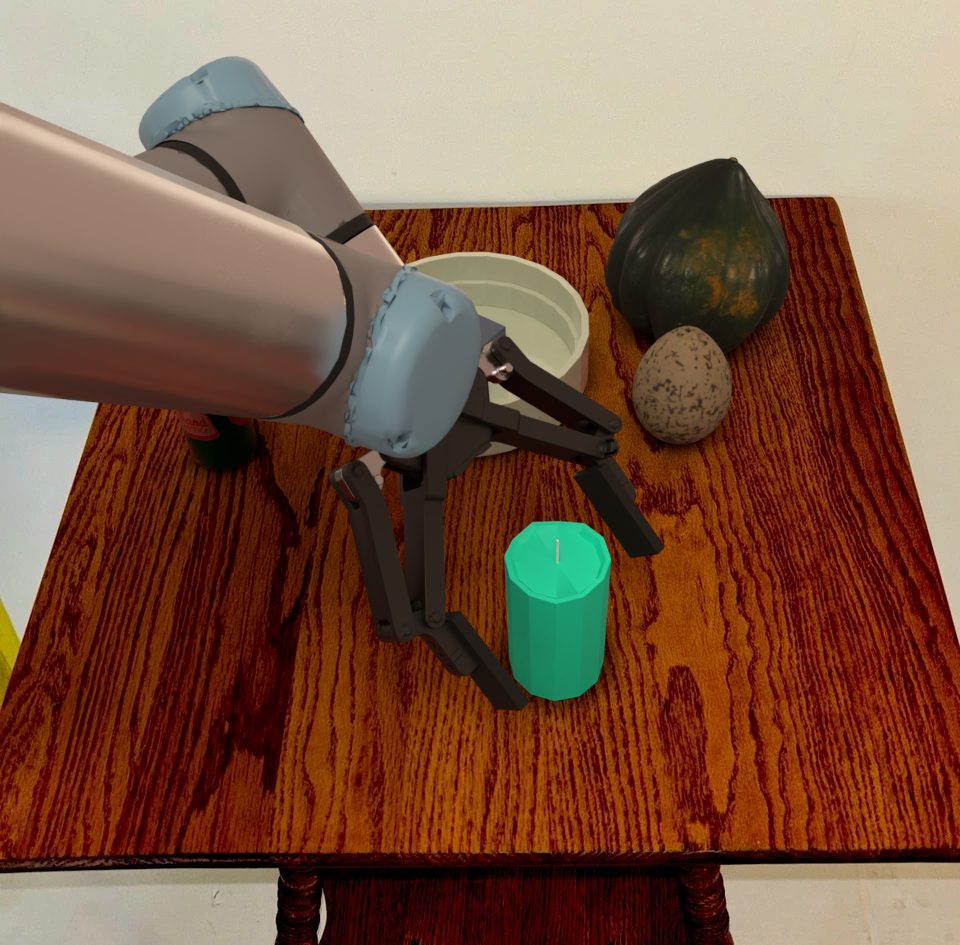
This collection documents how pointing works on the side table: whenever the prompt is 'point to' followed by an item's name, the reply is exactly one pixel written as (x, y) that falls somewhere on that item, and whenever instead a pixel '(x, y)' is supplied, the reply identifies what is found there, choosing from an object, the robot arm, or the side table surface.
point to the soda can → (218, 439)
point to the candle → (557, 607)
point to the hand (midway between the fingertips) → (584, 625)
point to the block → (490, 330)
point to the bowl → (522, 317)
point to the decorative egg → (682, 386)
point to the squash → (700, 256)
